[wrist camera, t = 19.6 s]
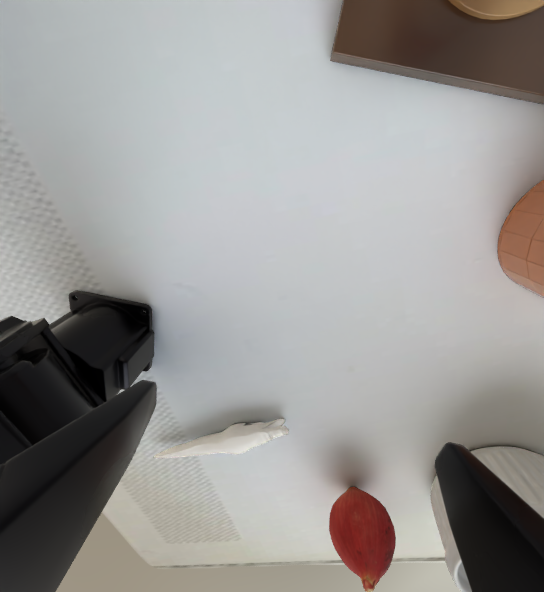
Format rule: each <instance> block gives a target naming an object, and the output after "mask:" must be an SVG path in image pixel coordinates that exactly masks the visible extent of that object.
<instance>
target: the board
mask: <svg viewBox="0 0 544 592" xmlns="http://www.w3.org/2000/svg"><path fill="white" fill-rule="evenodd" d="M330 60H331V61H333V62H338V63H343V64H348V65H353V66H358V67H363V68H368V69H372V70H377V71H382V72H387V73H392V74H397V75H402V76H407V77H412V78H417V79H422V80H427V81H432V82H436V83H441V84H446V85H451V86H456V87H461V88H466V89H471V90H476V91H481V92H486V93H491V94H496V95H500V96H505V97H510V98H515V99H520V100H525V101H530V102H535V103H540V104H544V0H343V2H342V7H341V12H340V16H339V21H338V26H337V30H336V35H335V40H334V44H333V49H332V54H331V58H330Z"/></svg>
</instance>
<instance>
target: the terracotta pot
mask: <svg viewBox="0 0 544 592" xmlns="http://www.w3.org/2000/svg"><path fill="white" fill-rule="evenodd" d="M498 259H499V262H500V265H501V267H502V269H503V271H504V272H505V274H506V275H507V276H508V277H509V278H510V279H511V280H512V281H513V282H515V283H517V284H518V285H520V286H522V287H523V288H525V289H527V290H529V291H531V292H533V293H535V294H537V295H539V296H540V297H542V298H544V180H543V181H541V182H540V183H538V184H537V185H536V186H534V187H533V188H532V189H530V190H529V191H528V192H527V193H526V194H525V195H524V196H523V197H522V198H521V199H520V200H519V201H518V202H517V204H516V205H515V206H514V208H513V209H512V210H511V212H510V213H509V215H508V217H507V218H506V220H505V222H504V224H503V227H502V229H501V232H500V235H499V240H498Z"/></svg>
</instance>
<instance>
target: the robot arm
mask: <svg viewBox="0 0 544 592" xmlns="http://www.w3.org/2000/svg"><path fill="white" fill-rule="evenodd" d="M76 296H77V297H78V298H77V297H76ZM69 302H70V309H71V312H69V313H68V314H66V315H64V316H63V317H61V318H59V319H58V320H56V321H55V322H53V323H51V324H50V325H49V324H48V322H47V321H46V320H45V318H42V319H39V320H36V321H33V322H31V321H30V322H27V321H26V320H25V321H23V320H21V319H18V318H16V317H13V316H10V317H7V318H4V319H2V320H0V592H55V591H56V590H57V588H58V586H59V585H60V583H61V581H62V580H63V578H64V576H65V574H66V573H67V571H68V569H69V568H70V566H71V564H72V562H73V561H74V559H75V557H76V555H77V554H78V552H79V550H80V548H81V547H82V545H83V543H84V542H85V540H86V538H87V536H88V535H89V533H90V531H91V530H92V528H93V526H94V524H95V523H96V521H97V518H98V517H99V516H100V514H101V512H102V511H103V509H104V507H105V505H106V504H107V502H108V500H109V498H110V497H111V495H112V493H113V491H114V490H115V488H116V486H117V485H118V483H119V481H120V479H121V478H122V476H123V474H124V472H125V471H126V469H127V467H128V465H129V464H130V462H131V460H132V458H133V456H134V454H135V451H136V449H137V447H138V445H139V443H140V440H141V438H142V436H143V434H144V432H145V429H146V427H147V425H148V423H149V421H150V418H151V416H152V414H153V412H154V409H155V406H156V392H157V386H156V383H155V382H152V381H147V380H142V381H139V382H138V383H136V384H134V385H133V386H131V385H132V384H133V382H134V381H135V380H136V379H137V377H138V376H139V375H140V373H141V372H142V371H148V370H149V369H150V368H151V366H152V358H153V357H154V332H153V330H152V309H151V307H150V306H149V305H146V304H142V303H137V302H132V301H127V300H122V299H117V298H113V297H108V296H103V295H98V294H93V293H88V292H83V291H78V290H76V291H73V292H71V293H70V294H69ZM143 309H144V310H145V311H146V312H144V311H143ZM130 386H131V387H130ZM121 389H124V391H123V392H121V393H119V391H120V390H121ZM118 393H119V394H118ZM117 394H118V395H117ZM435 469H436V473H437V477H438V481H439V485H440V489H441V493H442V498H443V502H444V506H445V510H446V514H447V517H448V521H449V525H450V528H451V531H452V534H453V537H454V540H455V543H456V546H457V549H458V552H459V555H460V558H461V561H462V564H463V567H464V570H465V573H466V576H467V578H468V581H469V584H470V587H471V590H472V592H544V518H543V517H542V516H541V515H540V514H539V513H537V512H536V511H535V510H534V509H533V508H532V507H531V506H530V505H529V504H527V503H526V502H525V501H524V500H523V499H522V498H521V497H520V496H519V495H517V494H516V493H515V492H514V491H513V490H512V489H511V488H510V487H509V486H508V485H506V484H505V483H504V482H503V481H502V480H501V479H500V478H499V477H498V476H496V475H495V474H494V473H493V472H492V471H491V470H490V469H489V468H488V467H487V466H485V465H484V464H483V463H482V462H481V461H480V460H479V459H478V458H477V457H475V456H474V455H473V454H472V453H471V452H470V451H469V450H468V449H467V448H465V447H464V446H463V445H460V444H456V443H451V442H448V443H446V444H445V445H444V447H443V448H442V450H441V451H440V453H439V454H438V456H437V457H436V460H435Z"/></svg>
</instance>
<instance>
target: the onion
mask: <svg viewBox="0 0 544 592" xmlns="http://www.w3.org/2000/svg"><path fill="white" fill-rule="evenodd" d="M329 531H330V535H331V539H332V542H333V545H334V547H335V549H336V551H337V553H338V555H339V556H340V558H341V559H342V561H343V562H344V563H345V565H346V566H347V567H348V568H349V569H350V570H351V571H353V572H354V573H355V574H357V575H358V576H359V577H360V578H361V580H362V583H363V587H364V589H365V591H367V592H371V591H373V590H374V588H375V586H376V584H377V583H378V582H379V579H380V578H381V577H382V576H383V575H384V574H385V573H386V571H387V570H388V568H389V566H390V564H391V561H392V558H393V554H394V549H395V540H396V537H395V531H394V526H393V524H392V521H391V519H390V516H389V514H388V513H387V511H386V509H385V507H384V506H383V505H382V504H381V503H380V502H379V501H378V500H377V499H376V498H374V497H373V496H371V495H370V494H368V493H366V492H364V491H362V490H359V489H358V488H356V487H350V488H349V489H348V490H347V491H346V492H345V493H344V494H342V495H341V496H340V497H339V498H338V499H337V501H336V502H335V503H334V504H333V506H332V510H331V513H330V523H329Z"/></svg>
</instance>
